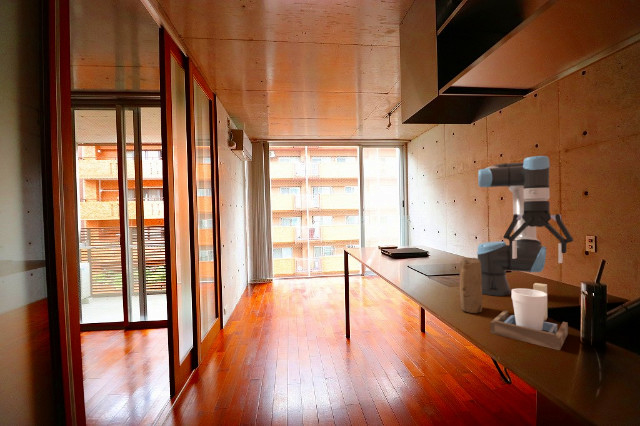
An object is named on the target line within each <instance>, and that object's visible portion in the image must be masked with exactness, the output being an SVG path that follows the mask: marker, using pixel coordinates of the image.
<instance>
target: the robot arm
mask: <svg viewBox="0 0 640 426" xmlns="http://www.w3.org/2000/svg"><path fill="white" fill-rule="evenodd" d="M550 166H551V164H550V157H548V156H547V155H534V156H529V157H525V158H524V159H523V161H521V162H510V163H509V162H506V163H497V164H494V165H490V166H488V167H485V168H480V169H478V172H477V173H478V176H477V177H478V178H477V180H478V183H477V184H478V187H480V188H495V187H496V188H498V187H506V188H507V187H508V191H509V192H510V193H511V194H512V215H513V216H512V220H511V222H510V224H509V226H508V228H507V230H506V231H505V233H504V234H503V239H506V240H508V243H509V244H507V243H506V242H505V241H487V242H482V243H480V244H478V245H477V251H476V252H477V253H476V254H477V259H479V260H480V262H481V275H482V295H488V296H493V297H494V296H497V297H498V296H500V297H501V296H504V297H505V296H509V295H510V294H511V287H510V283H509V282H508V279H507V275H506V273H507V271H509V272H510V271H513V272H525V273H541V272H543V271H544V268H545V264H546V258H547V247H546V246H544V245H542V241H541V240H539V239H538V238H537V227H538V228H543V227H544V228H546V229H547V230H548V232H550V233H551V234H552V235H553V236H554V237H555V239H557V240H558V241H559V243H558V244H557V245H558V246H557V247H558V248H557V249H558V251H557V252H558V253H557V254H558V258H557V259H558V260H557V263H558V264H562V263H563V260H564V259H563V258H564V257H563V255H564V254H566V253H567V252H568V251H567V244H569V243H573V242H574V237H573V236H572V235H571V233H570V232H569V230H568V228H567V227H566V225H565V224H564V221H563V219H562V215H561V214H560V213H557V214H551V213H550V201H549V199H550V198H551V197H550V196H551V195H550ZM551 219H553V221H554V222H556V223H557V225H558V227H559V228H560V230H561V232H562V233H563V235H562V234H561V233H560V232H559V231H557V230H556V229H555V227H553V226H552V224H551V223H550V222H549V221H550V220H551ZM512 232H513V234H512ZM564 237H565V238H564Z"/></svg>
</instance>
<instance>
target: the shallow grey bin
mask: <svg viewBox="0 0 640 426" xmlns="http://www.w3.org/2000/svg"><path fill="white" fill-rule="evenodd" d="M508 318H509V310H506V309H504V310H503V311H502V312H501V313H499V314H498V315H496V317H495V318H493V319H492V320H491V321H490V328H489V329H490V334H492V335H497V336H500V337H505V338H510V339H513V340H517V341H521V342H525V343H528V344H532V345H537V346H540V347H543V348H544V347H545V348H549V349H553V350H556V351H561V349H562V347H563V345H564V343H565V341H566V338H567V337H568V335H569V325H568V324H569V323H568V322H567V321H566V322H565V321H562V323H561V324H560V327H559V328H558V329H557V333H556V335H555V334H554V333H550V332H549V331H546V330H542V331H541V330H536V329H532V328H527V327H523V326H518V325H516V324H515V323H513V324H509V323H505V321H506V320H507V319H508Z"/></svg>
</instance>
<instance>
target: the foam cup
mask: <svg viewBox="0 0 640 426" xmlns="http://www.w3.org/2000/svg"><path fill="white" fill-rule="evenodd" d="M511 300H512V306H513V310H514V311H513V312H514V315H515V320H516V324H515V325H518V326H523V327H527V328H532V329H536V330H541V331H543V330H542V328H543V321H544V322H545V320H544V315H545V309H546V303H547V304H548V293H547V294H546V293H544V292H542V291H538V290H533V288H512V289H511Z"/></svg>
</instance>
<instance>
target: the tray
mask: <svg viewBox="0 0 640 426" xmlns="http://www.w3.org/2000/svg"><path fill="white" fill-rule="evenodd" d="M532 285H533V286H532V290H538V291H542V292H544V293H546V294H547V295H548V284H546V283H538V282H535V283H533V284H532ZM547 319H548V302H547V303H546V309H545V315H544V321H543V328H542V331H545V332H550V333H554V334H555V335H556V333H557V331H558V324H557V323H553V322H548V321H547ZM505 323H509V324H514V325H516V320H515V314H511V315H509V316H508V319H507V320H506V321H505Z"/></svg>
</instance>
